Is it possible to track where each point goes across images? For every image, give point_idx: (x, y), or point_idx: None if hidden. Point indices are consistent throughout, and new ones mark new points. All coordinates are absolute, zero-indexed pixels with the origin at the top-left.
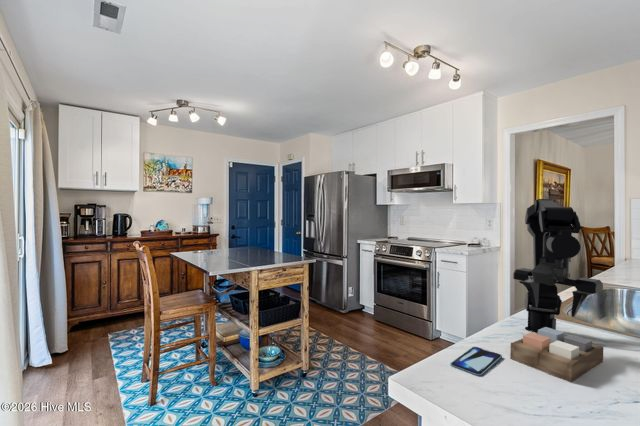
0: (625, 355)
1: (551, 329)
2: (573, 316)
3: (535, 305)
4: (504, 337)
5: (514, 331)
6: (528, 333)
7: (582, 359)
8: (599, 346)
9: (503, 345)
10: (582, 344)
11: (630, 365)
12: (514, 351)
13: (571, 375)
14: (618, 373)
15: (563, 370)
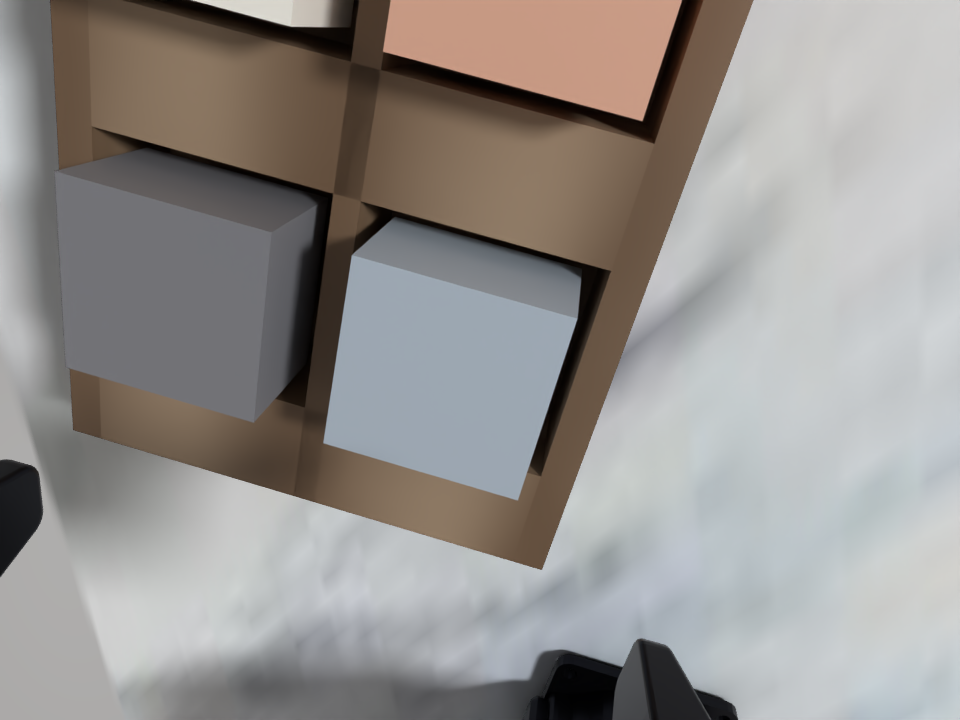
0: (119, 589)
1: (447, 447)
2: (4, 463)
3: (644, 668)
4: (913, 396)
5: (819, 611)
6: (676, 9)
7: None
8: (92, 411)
9: (924, 132)
10: (91, 172)
11: (47, 435)
12: None
13: None
14: (35, 214)
15: None
